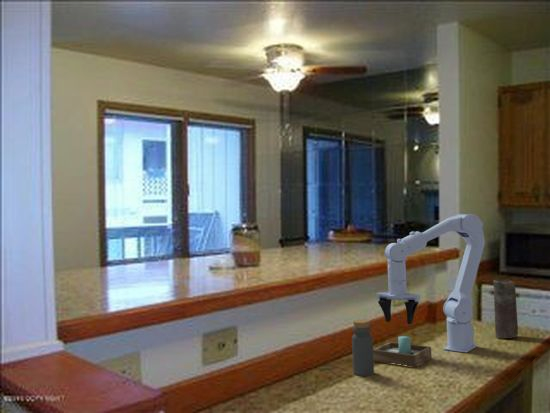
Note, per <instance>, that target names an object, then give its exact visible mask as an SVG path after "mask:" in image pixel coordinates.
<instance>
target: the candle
mask: <svg viewBox="0 0 550 413" xmlns="http://www.w3.org/2000/svg"><path fill="white" fill-rule="evenodd" d="M492 282H493V303H494V304H493V305H494V328H495V330H494V331H495V332H494V333H495V337H496V339H513V338H516V337H517V336H518V335H519V328H518V325H519V324H518V311H517V309H518V308H517V295H516V294H517V292H516V291H517V290H516V282H514V281H513V280H505V279H499V278H498V279H493V281H492Z"/></svg>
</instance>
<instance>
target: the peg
mask: <svg viewBox="0 0 550 413" xmlns="http://www.w3.org/2000/svg"><path fill="white" fill-rule="evenodd" d="M397 338H398V340H397V341H398V342H397V343H399V353H403V354H410V355H411V345H412V344H411V337H410V336H408V335H400V336H398V337H397Z"/></svg>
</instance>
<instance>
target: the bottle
mask: <svg viewBox="0 0 550 413" xmlns="http://www.w3.org/2000/svg"><path fill="white" fill-rule="evenodd" d="M370 322H371V321H370V320H369V319H365V318H364V319H363V318H361V319H355V320H353V322H352V323H353V327H352V331H353V332H354V334H353V335H352V336H351V345H352V348H351V349H352V370H353V375H355V376H361V377H366V376H368V375H369V376H372V375H374V374H375V369H374V368H375V367H374V366H375V365H374V363H375V362H374V361H373V349H374V344H373V336H372V334H370V331H372V328H371V326H370ZM373 373H374V374H373ZM371 374H372V375H371Z"/></svg>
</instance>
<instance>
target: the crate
mask: <svg viewBox="0 0 550 413" xmlns="http://www.w3.org/2000/svg"><path fill="white" fill-rule="evenodd" d="M430 358H431V359H432V358H433V357H432V346H426V345H418V344H411V355H410V354H403V353H399V343H398V342H393V341H389V342H387V343H386V342H385V344H382V345H379V346H377V347H375V348H373V361H374V363H380V364H381V363H382V364H386V363H395V364H401V365H407V366H412V367H411V368H413V367H415V366H417V365H419V364H420V365H422V364H424V363H426V362H427V360H428V359H429V360H431V359H430ZM429 360H428V361H429ZM425 361H426V362H425ZM423 362H424V363H423ZM421 363H422V364H421ZM420 365H419V366H420ZM417 367H418V366H417ZM415 368H416V367H415Z"/></svg>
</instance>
